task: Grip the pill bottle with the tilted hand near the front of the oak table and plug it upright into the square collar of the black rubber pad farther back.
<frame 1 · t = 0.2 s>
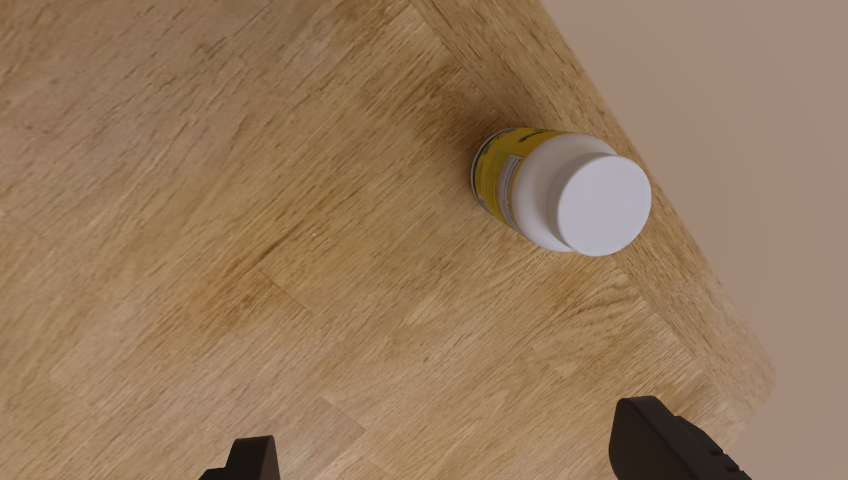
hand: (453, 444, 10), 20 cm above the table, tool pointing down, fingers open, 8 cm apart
pill bottle: (509, 171, 30), on the table
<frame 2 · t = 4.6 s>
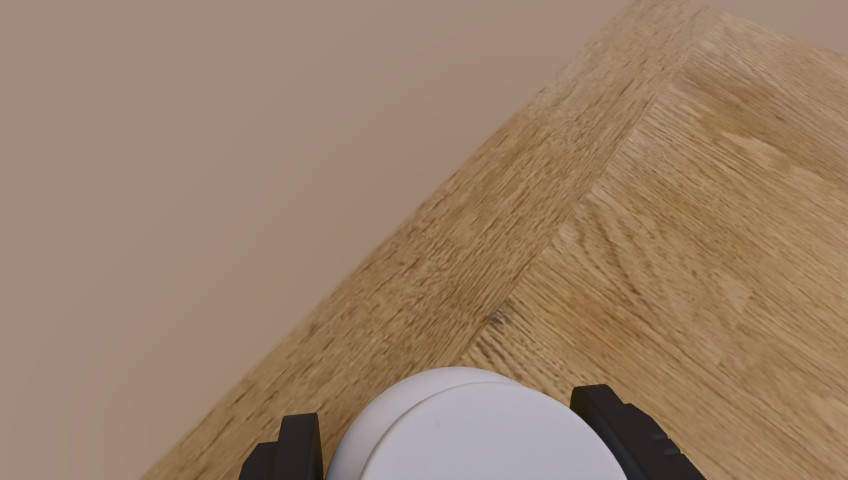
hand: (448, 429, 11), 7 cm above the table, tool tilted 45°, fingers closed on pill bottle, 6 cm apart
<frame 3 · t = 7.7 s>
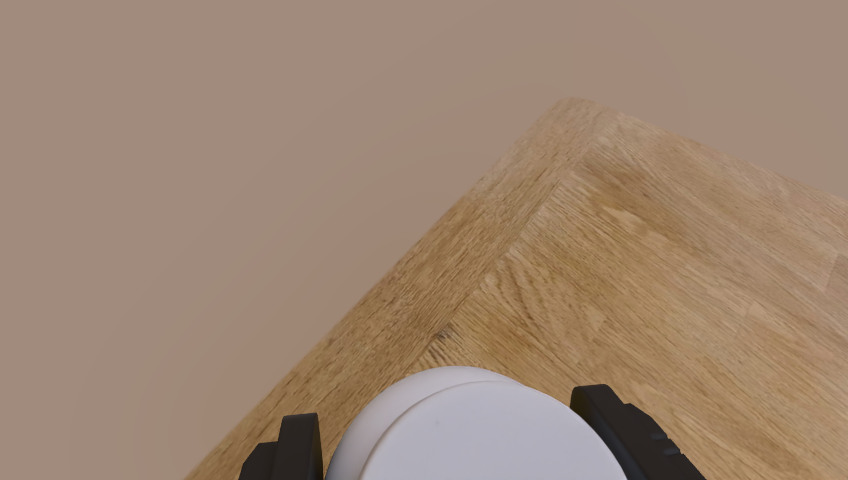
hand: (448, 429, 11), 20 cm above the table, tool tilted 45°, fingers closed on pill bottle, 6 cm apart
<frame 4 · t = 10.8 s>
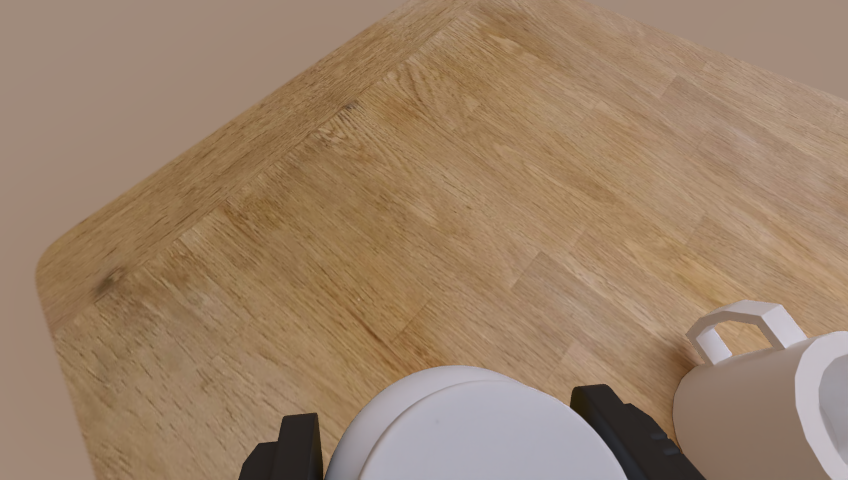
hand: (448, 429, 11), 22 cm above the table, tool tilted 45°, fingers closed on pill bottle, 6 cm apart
mug: (727, 414, 34), on the table
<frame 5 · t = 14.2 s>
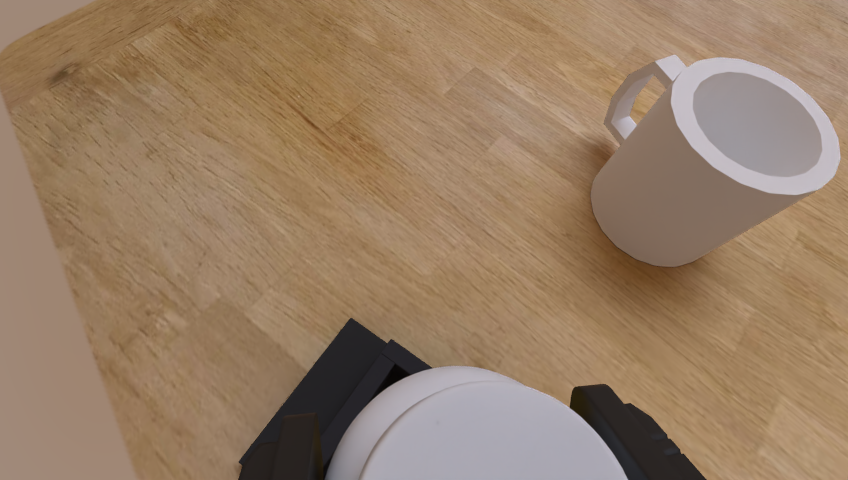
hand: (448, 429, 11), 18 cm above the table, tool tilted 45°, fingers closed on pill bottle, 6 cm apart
mug: (643, 197, 36), on the table
socket pad: (407, 466, 26), on the table
when the fingers open (8 cm above the table, at t = 17.2 s): pill bottle stays where it is, resting on socket pad.
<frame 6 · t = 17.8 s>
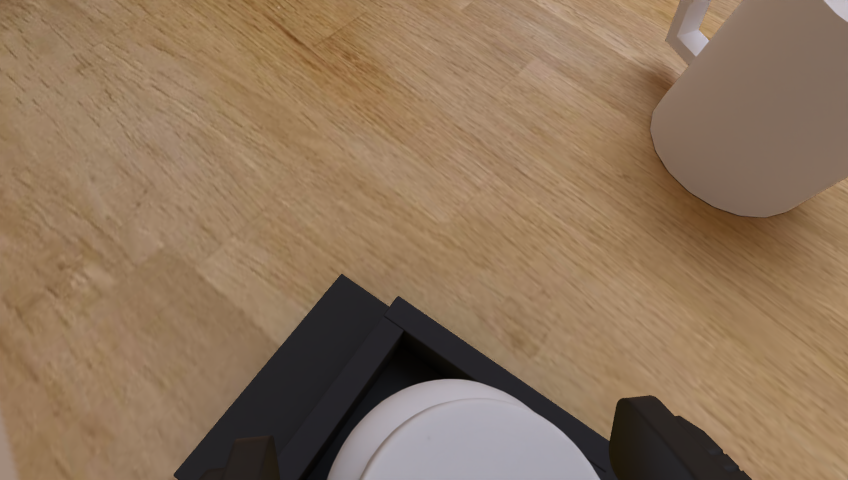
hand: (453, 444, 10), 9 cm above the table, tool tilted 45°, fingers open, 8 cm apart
mug: (716, 134, 28), on the table
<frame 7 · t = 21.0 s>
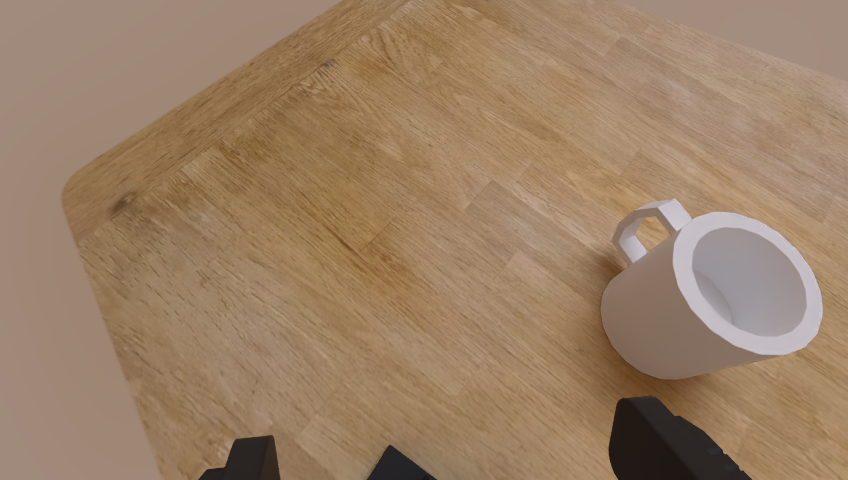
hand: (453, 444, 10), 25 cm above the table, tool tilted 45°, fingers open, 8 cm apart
mug: (649, 308, 39), on the table
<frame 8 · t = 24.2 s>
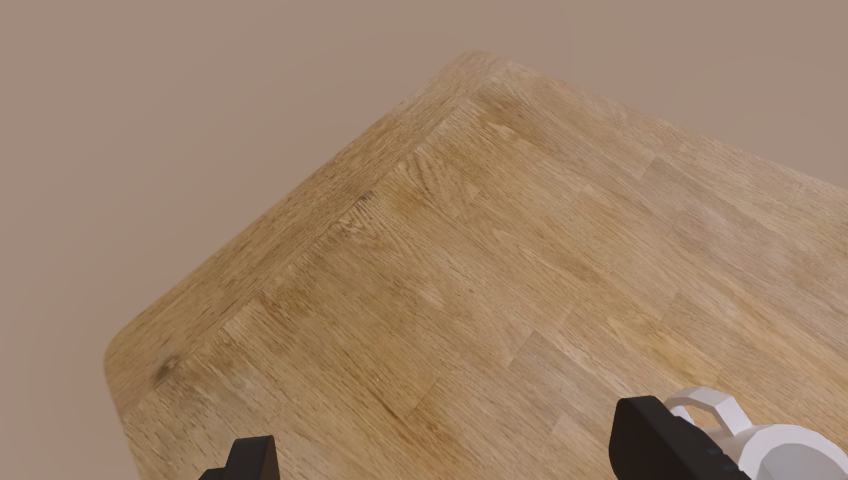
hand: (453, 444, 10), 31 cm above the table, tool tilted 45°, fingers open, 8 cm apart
mug: (695, 477, 39), on the table
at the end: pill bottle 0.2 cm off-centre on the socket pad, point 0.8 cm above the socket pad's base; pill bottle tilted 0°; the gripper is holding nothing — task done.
